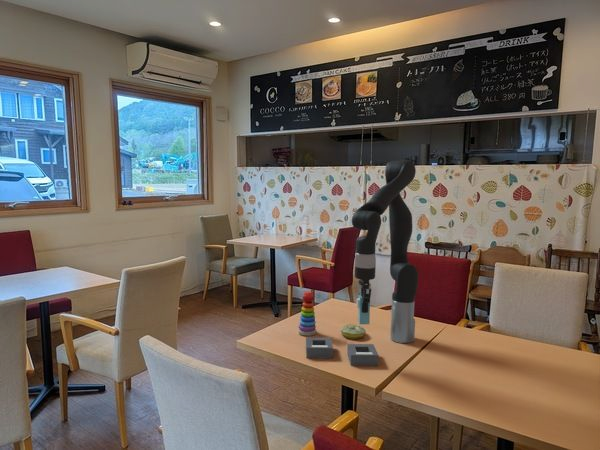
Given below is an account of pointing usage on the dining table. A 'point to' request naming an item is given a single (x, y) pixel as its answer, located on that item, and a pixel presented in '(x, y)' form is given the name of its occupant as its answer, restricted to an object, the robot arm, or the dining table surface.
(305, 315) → the stacking toy
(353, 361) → the near socket block
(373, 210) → the robot arm
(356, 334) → the decorated donut
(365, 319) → the plug
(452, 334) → the dining table surface
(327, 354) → the far socket block
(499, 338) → the dining table surface
